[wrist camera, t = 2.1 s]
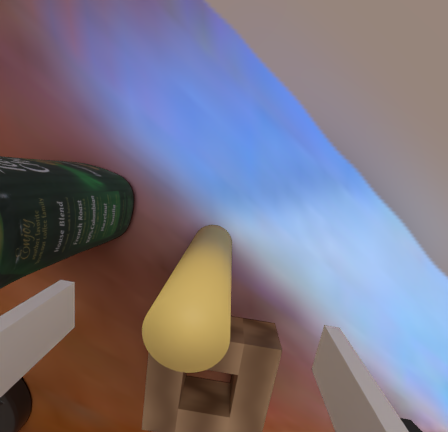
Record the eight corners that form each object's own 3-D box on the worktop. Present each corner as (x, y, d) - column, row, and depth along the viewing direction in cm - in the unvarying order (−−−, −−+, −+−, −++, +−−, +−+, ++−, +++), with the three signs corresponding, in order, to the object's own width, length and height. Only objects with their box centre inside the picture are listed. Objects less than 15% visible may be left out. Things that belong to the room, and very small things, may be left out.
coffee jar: (142, 176, 23) (-216, 183, 5) (130, 242, 24) (-171, 441, 6) (56, 152, 23) (-650, 67, 5) (50, 220, 24) (-491, 358, 6)
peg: (191, 258, 24) (139, 365, 11) (196, 222, 24) (145, 288, 10) (228, 263, 24) (223, 379, 11) (234, 228, 24) (236, 303, 10)
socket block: (154, 394, 29) (141, 429, 25) (163, 305, 26) (150, 328, 22) (254, 411, 28) (257, 449, 25) (274, 323, 26) (282, 350, 22)
